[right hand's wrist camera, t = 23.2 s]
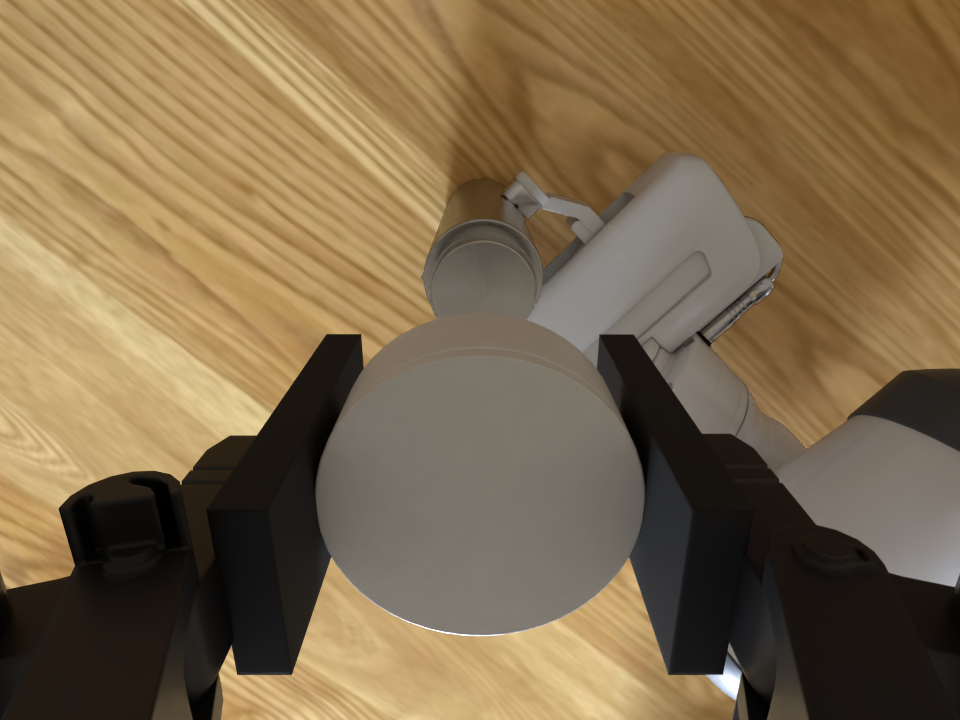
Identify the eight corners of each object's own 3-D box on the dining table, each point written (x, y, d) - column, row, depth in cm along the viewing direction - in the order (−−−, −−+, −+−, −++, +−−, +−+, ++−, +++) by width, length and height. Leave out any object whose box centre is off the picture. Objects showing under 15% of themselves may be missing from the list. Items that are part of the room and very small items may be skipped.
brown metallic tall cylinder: (434, 194, 37) (398, 253, 22) (506, 167, 37) (524, 208, 21) (460, 265, 39) (446, 369, 23) (530, 240, 38) (564, 329, 23)
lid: (340, 545, 13) (315, 626, 11) (344, 299, 11) (312, 341, 9) (594, 564, 13) (615, 647, 11) (641, 324, 11) (677, 372, 9)
